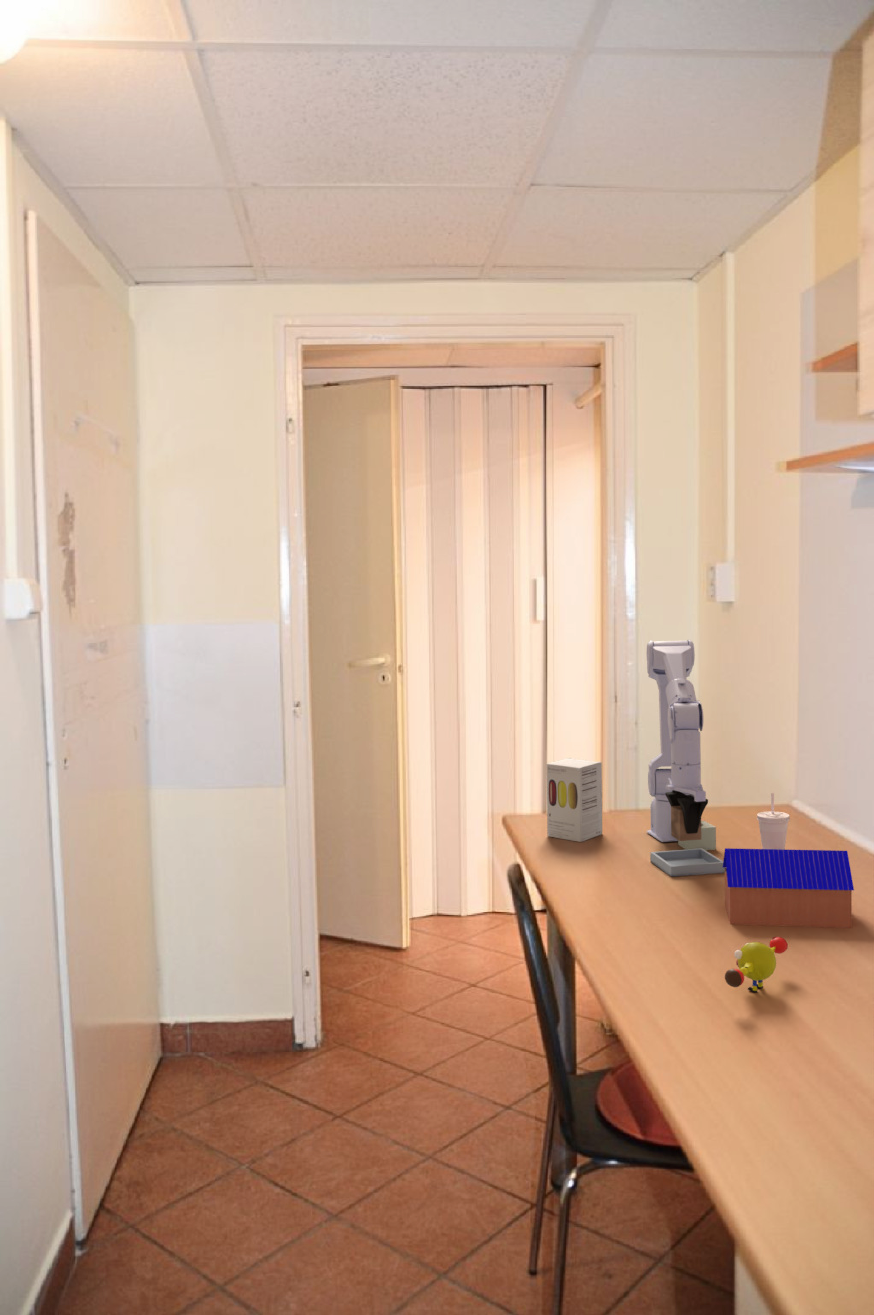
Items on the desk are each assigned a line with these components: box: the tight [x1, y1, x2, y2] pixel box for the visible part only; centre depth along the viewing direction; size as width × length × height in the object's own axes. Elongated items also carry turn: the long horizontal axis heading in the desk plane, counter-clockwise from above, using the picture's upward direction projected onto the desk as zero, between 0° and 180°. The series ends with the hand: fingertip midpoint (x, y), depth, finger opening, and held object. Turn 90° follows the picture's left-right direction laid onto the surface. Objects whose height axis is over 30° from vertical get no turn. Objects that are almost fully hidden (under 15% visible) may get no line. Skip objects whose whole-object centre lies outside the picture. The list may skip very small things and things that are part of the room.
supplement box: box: [546, 757, 603, 843], centre depth 241 cm, size 10×9×17 cm
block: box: [671, 806, 702, 841], centre depth 213 cm, size 4×4×6 cm
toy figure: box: [724, 936, 789, 993], centre depth 151 cm, size 18×6×7 cm, turn 141°
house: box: [722, 847, 855, 929], centre depth 182 cm, size 12×20×12 cm, turn 79°
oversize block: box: [677, 820, 717, 851], centre depth 228 cm, size 6×6×5 cm
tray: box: [649, 848, 726, 878], centre depth 213 cm, size 11×11×2 cm
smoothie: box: [756, 792, 791, 850], centre depth 215 cm, size 6×6×14 cm
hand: (686, 830), depth 213 cm, fingers closed on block, 4 cm apart
